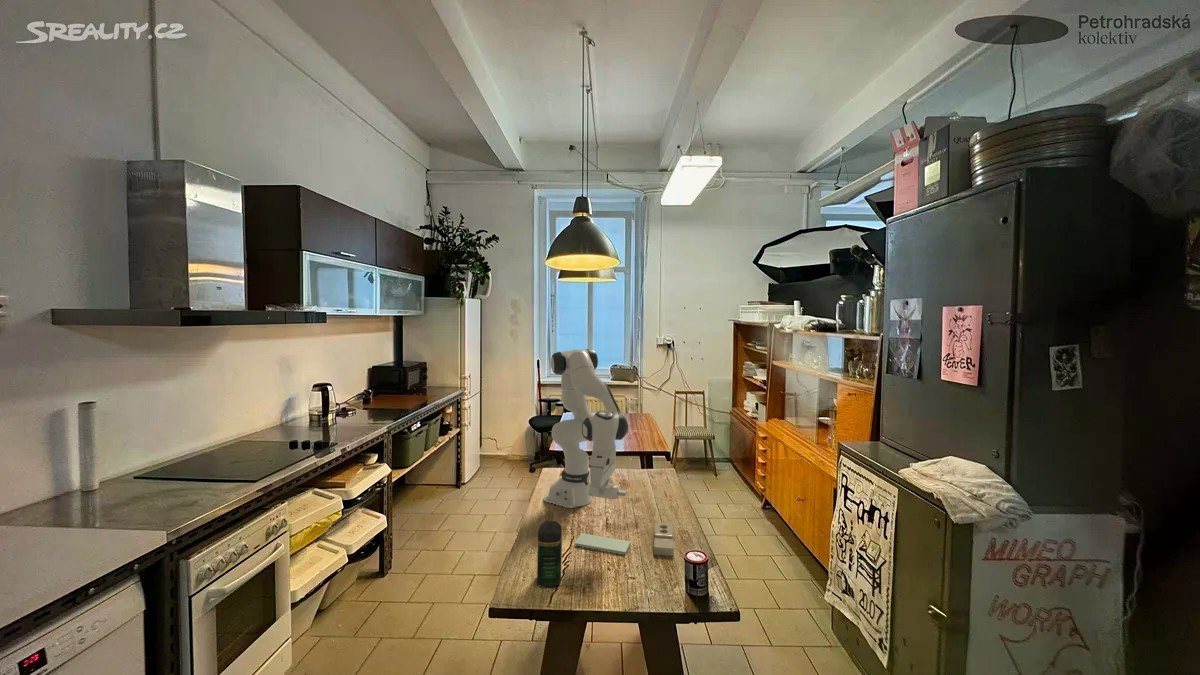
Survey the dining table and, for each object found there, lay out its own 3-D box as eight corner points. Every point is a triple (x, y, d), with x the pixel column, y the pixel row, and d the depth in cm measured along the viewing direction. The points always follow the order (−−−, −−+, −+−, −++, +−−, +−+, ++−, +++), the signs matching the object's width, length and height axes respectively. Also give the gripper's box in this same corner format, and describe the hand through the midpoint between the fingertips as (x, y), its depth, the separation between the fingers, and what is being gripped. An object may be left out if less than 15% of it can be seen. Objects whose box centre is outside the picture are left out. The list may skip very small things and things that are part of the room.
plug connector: (586, 495, 169) (587, 485, 168) (590, 491, 172) (590, 481, 172) (624, 500, 164) (624, 490, 164) (627, 496, 168) (627, 486, 168)
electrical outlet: (654, 544, 164) (654, 522, 181) (653, 555, 164) (654, 531, 182) (673, 546, 163) (672, 523, 180) (673, 556, 163) (672, 533, 181)
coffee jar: (560, 588, 142) (561, 532, 141) (535, 589, 142) (536, 532, 141) (562, 571, 152) (562, 518, 151) (538, 571, 152) (539, 518, 151)
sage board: (574, 545, 169) (574, 542, 169) (581, 536, 177) (581, 533, 176) (625, 555, 163) (625, 552, 163) (630, 544, 170) (630, 541, 170)
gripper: (604, 446, 179) (603, 480, 179) (587, 462, 159) (586, 500, 160) (619, 448, 177) (618, 482, 178) (604, 464, 157) (603, 502, 158)
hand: (603, 491), depth 169 cm, fingers closed on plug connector, 4 cm apart
